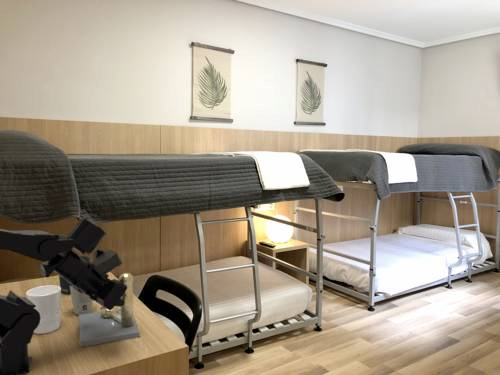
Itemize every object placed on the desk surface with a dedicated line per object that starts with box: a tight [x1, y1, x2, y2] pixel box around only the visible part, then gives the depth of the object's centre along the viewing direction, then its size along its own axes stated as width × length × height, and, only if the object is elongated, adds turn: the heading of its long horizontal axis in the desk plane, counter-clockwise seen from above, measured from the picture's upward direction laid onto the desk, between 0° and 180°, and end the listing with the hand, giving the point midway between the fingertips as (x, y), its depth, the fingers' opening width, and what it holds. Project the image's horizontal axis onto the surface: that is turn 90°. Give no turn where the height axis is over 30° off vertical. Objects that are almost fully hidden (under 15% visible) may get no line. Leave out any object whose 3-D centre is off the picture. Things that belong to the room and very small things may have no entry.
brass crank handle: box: [100, 272, 135, 327], centre depth 109 cm, size 13×4×13 cm, turn 47°
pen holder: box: [58, 255, 91, 295], centre depth 136 cm, size 9×9×10 cm
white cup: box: [25, 284, 62, 335], centre depth 107 cm, size 8×8×10 cm
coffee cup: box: [68, 283, 94, 316], centre depth 118 cm, size 7×7×10 cm
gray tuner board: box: [78, 308, 141, 348], centre depth 108 cm, size 17×14×1 cm
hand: (122, 304), depth 104 cm, fingers closed, pressing on brass crank handle
